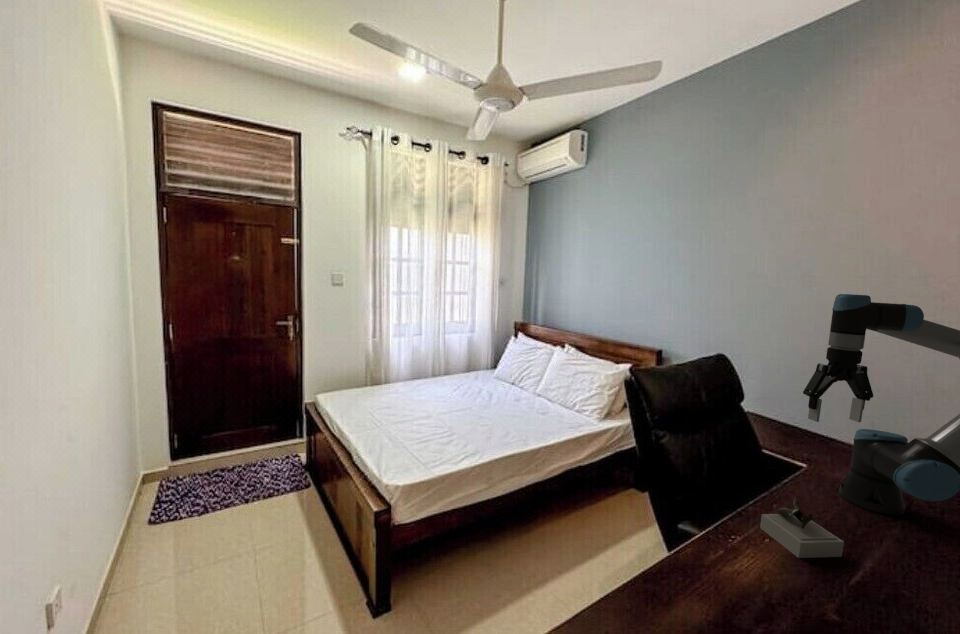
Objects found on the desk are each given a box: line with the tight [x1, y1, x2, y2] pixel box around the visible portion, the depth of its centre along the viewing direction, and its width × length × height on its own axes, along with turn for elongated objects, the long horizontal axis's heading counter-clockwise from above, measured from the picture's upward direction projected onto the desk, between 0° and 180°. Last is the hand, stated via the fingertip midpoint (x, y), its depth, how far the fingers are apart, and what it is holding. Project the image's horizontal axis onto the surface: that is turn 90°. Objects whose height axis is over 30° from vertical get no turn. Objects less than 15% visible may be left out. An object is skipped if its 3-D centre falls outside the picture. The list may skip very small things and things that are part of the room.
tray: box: [759, 513, 845, 559], centre depth 107 cm, size 12×12×4 cm
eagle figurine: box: [775, 492, 822, 529], centre depth 109 cm, size 8×7×9 cm
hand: (834, 420), depth 118 cm, fingers open, 13 cm apart
